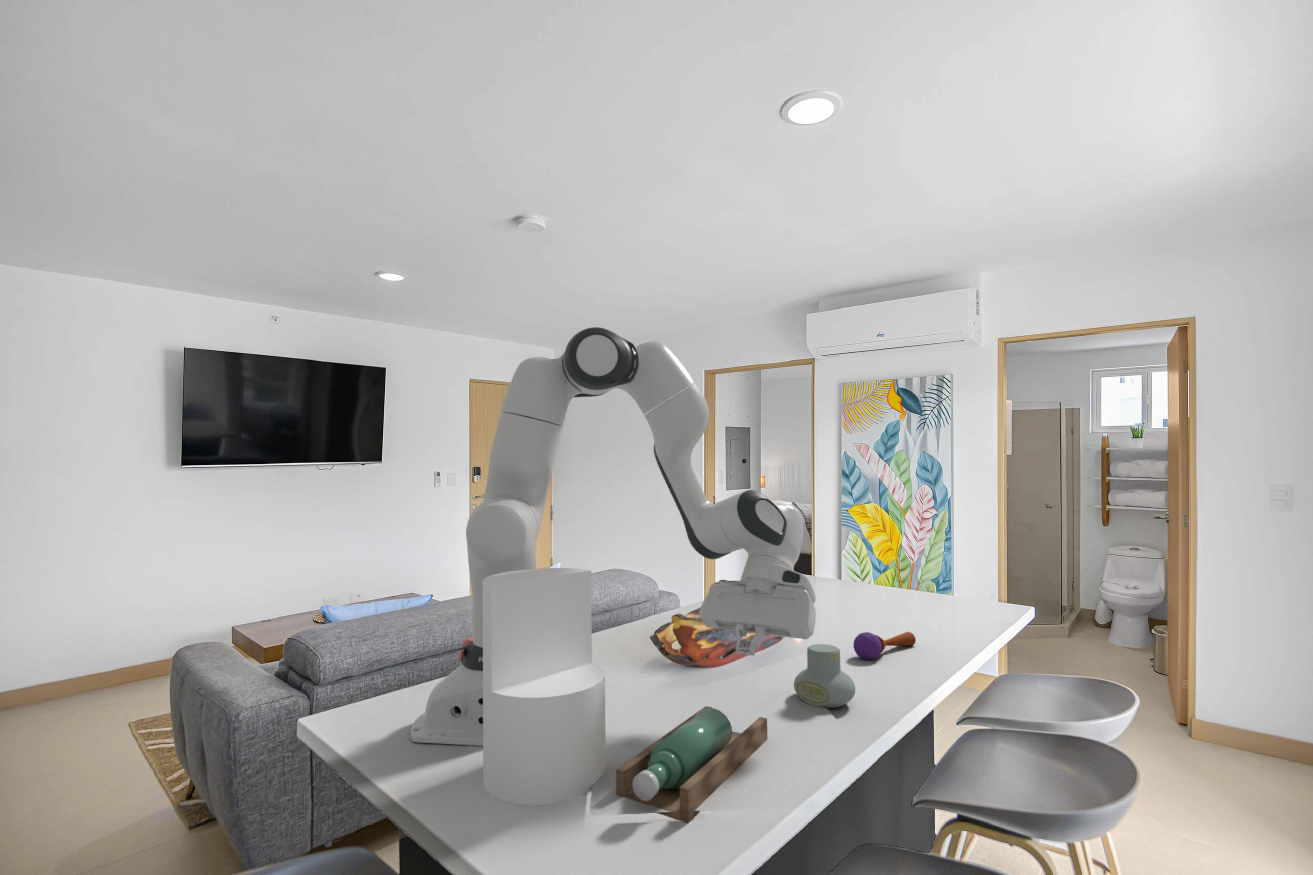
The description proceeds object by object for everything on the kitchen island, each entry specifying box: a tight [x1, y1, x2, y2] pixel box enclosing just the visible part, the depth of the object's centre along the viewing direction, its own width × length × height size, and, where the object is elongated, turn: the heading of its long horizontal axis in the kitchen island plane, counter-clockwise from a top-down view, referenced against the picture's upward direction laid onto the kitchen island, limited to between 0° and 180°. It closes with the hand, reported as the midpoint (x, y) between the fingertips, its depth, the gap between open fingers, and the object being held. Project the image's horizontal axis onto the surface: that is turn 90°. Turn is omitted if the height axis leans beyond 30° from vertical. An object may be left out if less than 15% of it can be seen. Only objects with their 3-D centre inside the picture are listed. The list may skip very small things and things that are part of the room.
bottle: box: [632, 707, 733, 801], centre depth 91 cm, size 6×6×21 cm
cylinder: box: [482, 567, 607, 806], centre depth 95 cm, size 17×17×28 cm
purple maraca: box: [853, 631, 917, 661], centre depth 152 cm, size 6×6×20 cm
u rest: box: [615, 705, 768, 824], centre depth 95 cm, size 26×11×4 cm, turn 149°
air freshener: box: [793, 643, 856, 709], centre depth 121 cm, size 11×8×10 cm
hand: (744, 652), depth 109 cm, fingers closed
